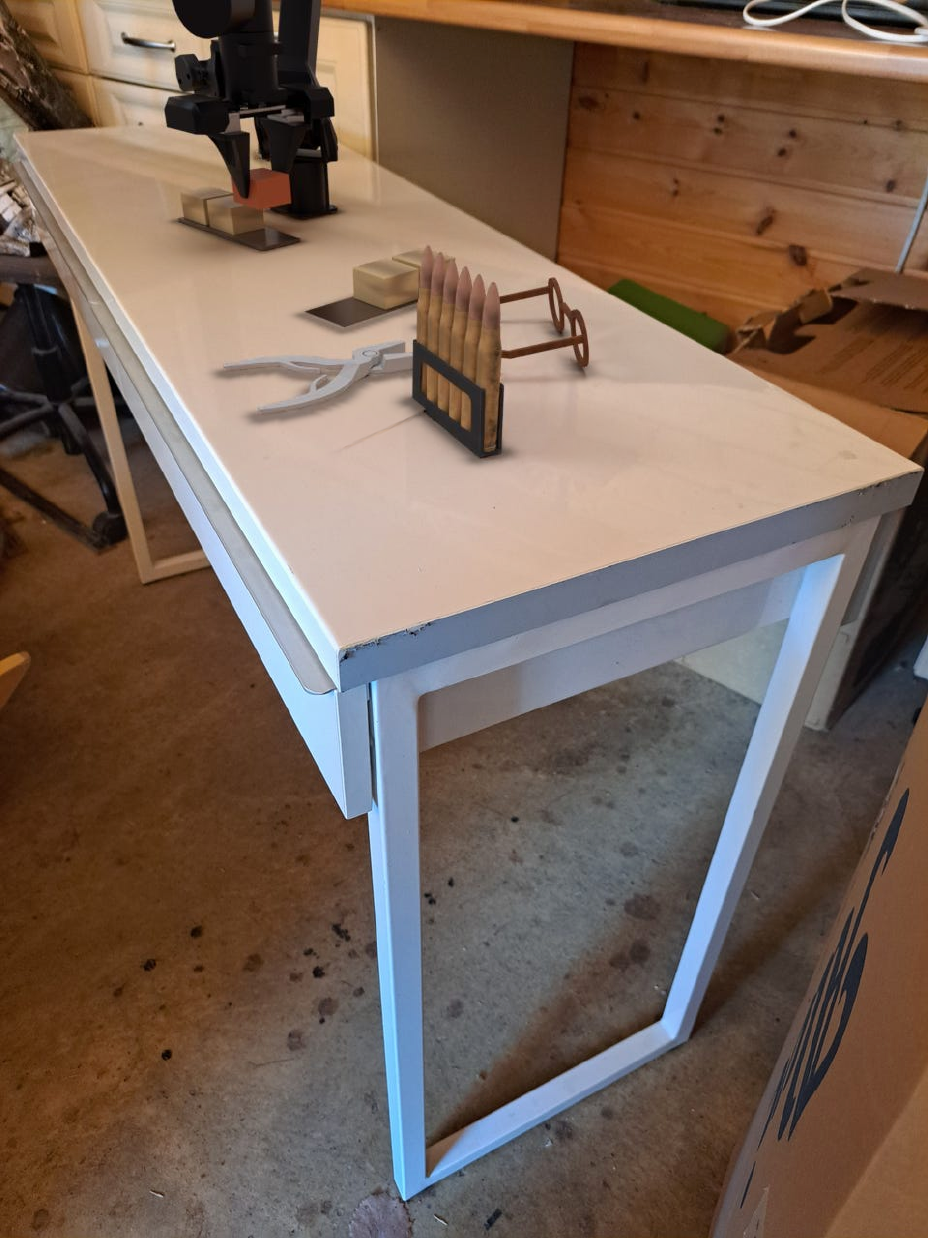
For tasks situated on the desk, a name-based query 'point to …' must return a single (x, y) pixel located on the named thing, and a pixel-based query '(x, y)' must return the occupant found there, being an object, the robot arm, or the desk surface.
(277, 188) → the red block
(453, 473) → the desk surface
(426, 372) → the ammunition clip
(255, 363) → the pliers
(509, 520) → the desk surface
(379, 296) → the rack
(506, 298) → the glasses
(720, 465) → the desk surface
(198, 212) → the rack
